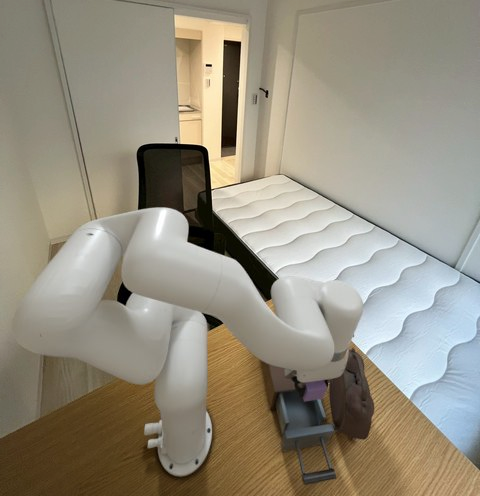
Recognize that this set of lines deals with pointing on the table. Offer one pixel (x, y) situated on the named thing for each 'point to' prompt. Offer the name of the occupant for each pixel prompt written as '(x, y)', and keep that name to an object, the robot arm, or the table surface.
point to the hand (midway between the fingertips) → (309, 387)
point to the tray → (304, 430)
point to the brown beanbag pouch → (352, 400)
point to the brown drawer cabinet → (276, 382)
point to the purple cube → (314, 390)
